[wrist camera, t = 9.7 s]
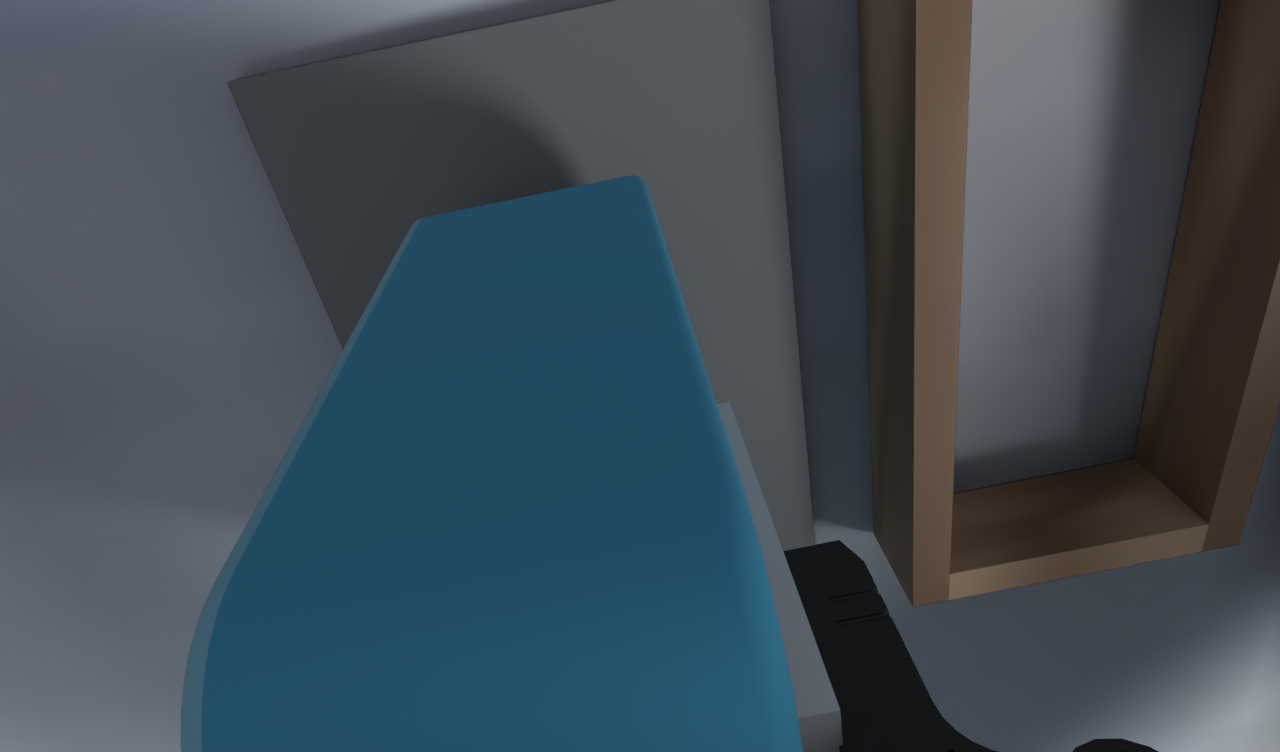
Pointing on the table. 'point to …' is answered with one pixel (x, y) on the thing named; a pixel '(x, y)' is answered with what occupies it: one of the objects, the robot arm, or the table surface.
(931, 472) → the walnut box
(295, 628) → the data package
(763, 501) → the robot arm
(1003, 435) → the table surface
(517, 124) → the charcoal mat
